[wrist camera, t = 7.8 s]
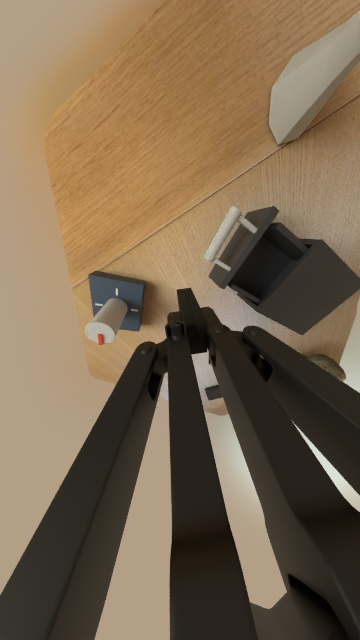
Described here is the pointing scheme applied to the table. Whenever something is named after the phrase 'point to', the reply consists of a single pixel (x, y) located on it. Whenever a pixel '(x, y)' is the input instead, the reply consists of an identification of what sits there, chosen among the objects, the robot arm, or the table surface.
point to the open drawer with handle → (254, 253)
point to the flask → (312, 79)
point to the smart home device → (213, 392)
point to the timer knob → (107, 321)
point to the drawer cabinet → (309, 289)
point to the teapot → (328, 365)
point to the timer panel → (118, 296)
